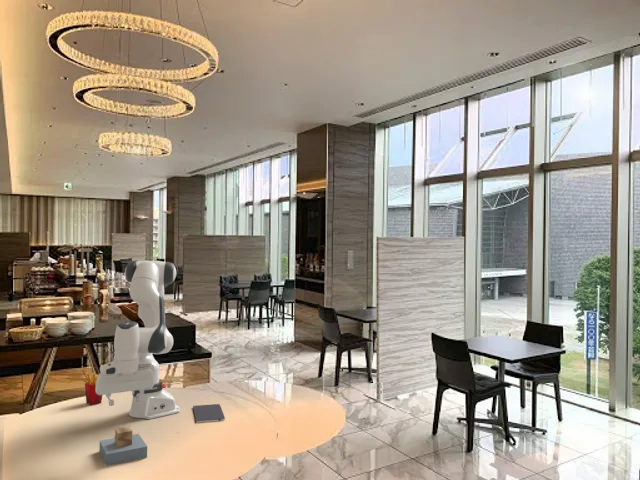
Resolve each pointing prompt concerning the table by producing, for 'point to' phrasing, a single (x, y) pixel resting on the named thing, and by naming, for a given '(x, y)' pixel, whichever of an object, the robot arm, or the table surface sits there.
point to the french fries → (92, 390)
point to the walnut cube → (123, 436)
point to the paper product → (208, 413)
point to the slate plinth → (122, 450)
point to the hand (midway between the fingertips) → (124, 403)
